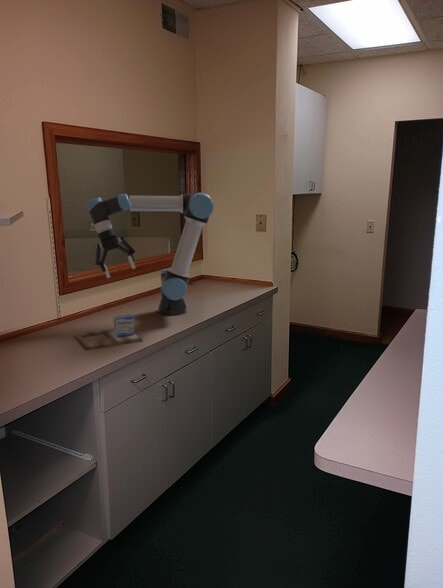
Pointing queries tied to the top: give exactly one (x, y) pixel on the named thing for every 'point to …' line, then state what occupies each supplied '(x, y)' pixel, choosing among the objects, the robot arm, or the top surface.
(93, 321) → the top surface
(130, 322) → the medicine box
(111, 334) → the pocket board
